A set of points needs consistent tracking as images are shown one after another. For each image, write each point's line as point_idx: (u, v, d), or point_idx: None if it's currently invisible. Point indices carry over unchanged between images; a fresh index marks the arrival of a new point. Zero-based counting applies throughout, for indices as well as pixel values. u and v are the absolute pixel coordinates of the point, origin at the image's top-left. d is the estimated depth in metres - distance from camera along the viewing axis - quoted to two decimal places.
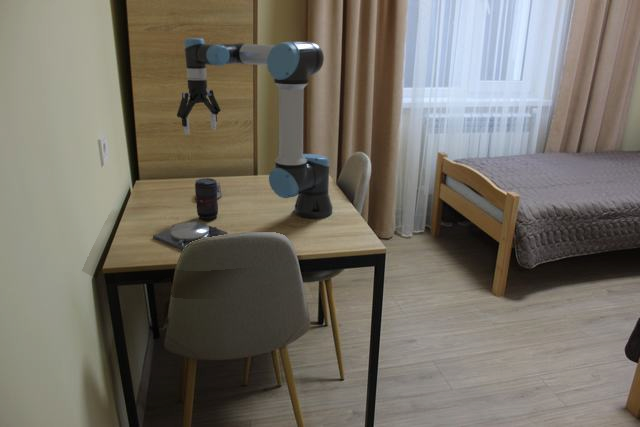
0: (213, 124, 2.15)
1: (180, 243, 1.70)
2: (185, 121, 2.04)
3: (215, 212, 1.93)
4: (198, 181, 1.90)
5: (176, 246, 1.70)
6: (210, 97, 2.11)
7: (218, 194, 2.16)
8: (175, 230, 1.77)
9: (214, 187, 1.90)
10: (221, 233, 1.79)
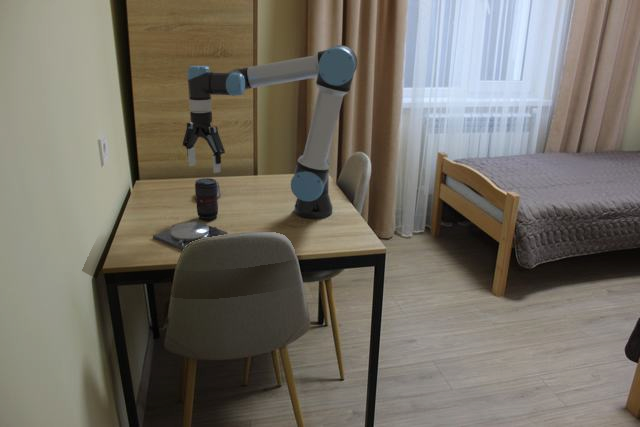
0: None
1: (180, 243, 1.70)
2: None
3: (215, 212, 1.93)
4: (198, 181, 1.90)
5: (176, 246, 1.70)
6: None
7: (217, 194, 2.16)
8: (175, 230, 1.77)
9: (214, 187, 1.90)
10: (221, 233, 1.79)
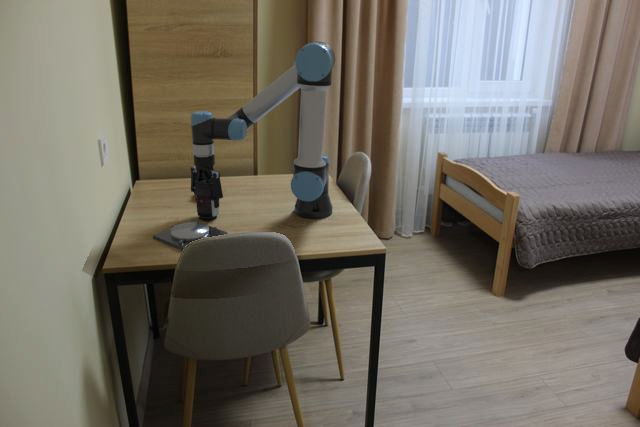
0: None
1: (180, 243, 1.70)
2: None
3: None
4: (198, 181, 1.90)
5: (176, 246, 1.70)
6: None
7: None
8: (175, 230, 1.77)
9: None
10: (221, 233, 1.79)
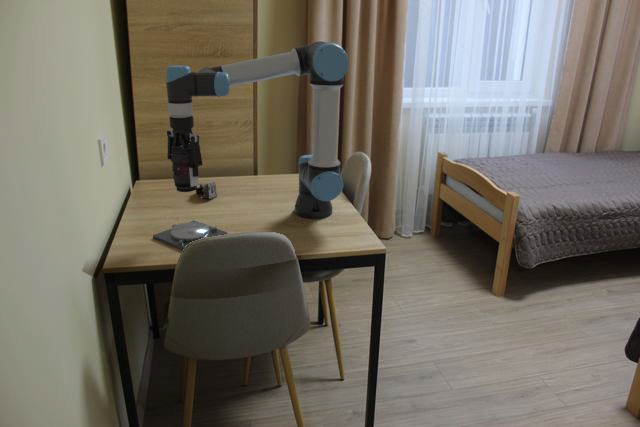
0: None
1: (180, 243, 1.70)
2: None
3: None
4: (175, 146, 1.68)
5: (176, 246, 1.70)
6: None
7: (212, 194, 2.16)
8: (175, 230, 1.77)
9: None
10: (221, 233, 1.79)
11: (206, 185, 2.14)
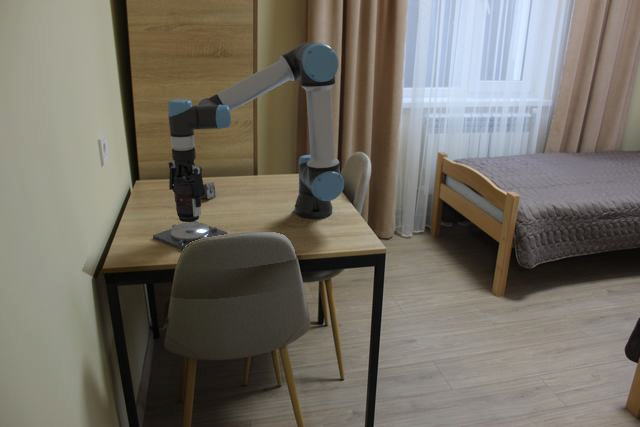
0: None
1: (180, 243, 1.70)
2: None
3: None
4: (177, 178, 1.71)
5: (176, 246, 1.70)
6: None
7: (210, 194, 2.16)
8: (175, 230, 1.77)
9: None
10: (221, 233, 1.79)
11: (205, 185, 2.14)
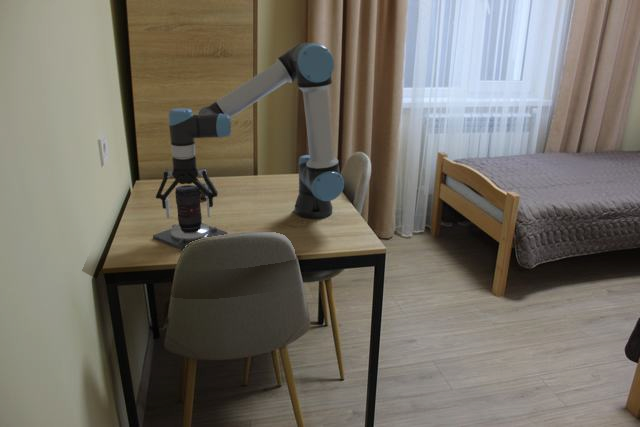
0: (207, 210, 1.76)
1: (180, 243, 1.70)
2: (164, 203, 1.73)
3: None
4: (181, 190, 1.71)
5: (176, 246, 1.70)
6: None
7: None
8: (175, 230, 1.77)
9: None
10: (221, 233, 1.79)
11: None
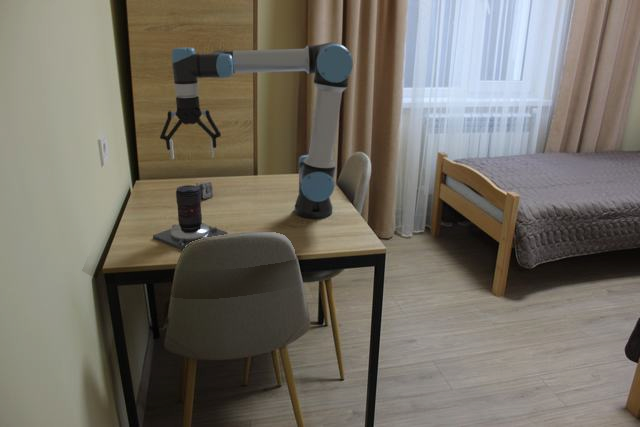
0: (211, 151, 1.79)
1: (180, 243, 1.70)
2: (168, 143, 1.75)
3: None
4: (181, 190, 1.71)
5: (176, 246, 1.70)
6: (207, 118, 1.75)
7: (206, 194, 2.16)
8: (175, 230, 1.77)
9: (200, 192, 1.75)
10: (221, 233, 1.79)
11: (201, 185, 2.14)
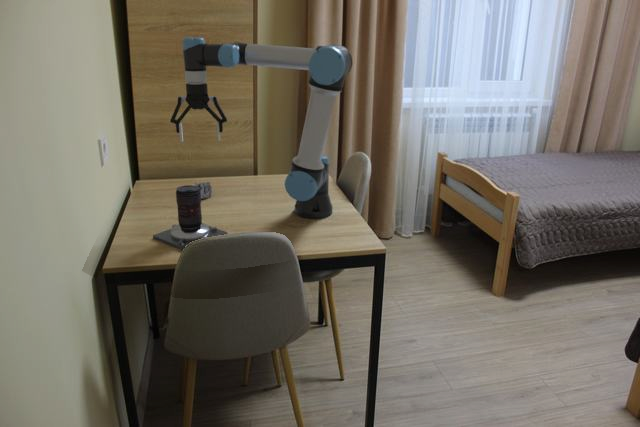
0: None
1: (180, 243, 1.70)
2: (178, 127, 1.87)
3: (201, 219, 1.78)
4: (181, 190, 1.71)
5: (176, 246, 1.70)
6: (215, 104, 1.87)
7: (204, 194, 2.16)
8: (175, 230, 1.77)
9: (200, 192, 1.75)
10: (221, 233, 1.79)
11: (199, 185, 2.15)
